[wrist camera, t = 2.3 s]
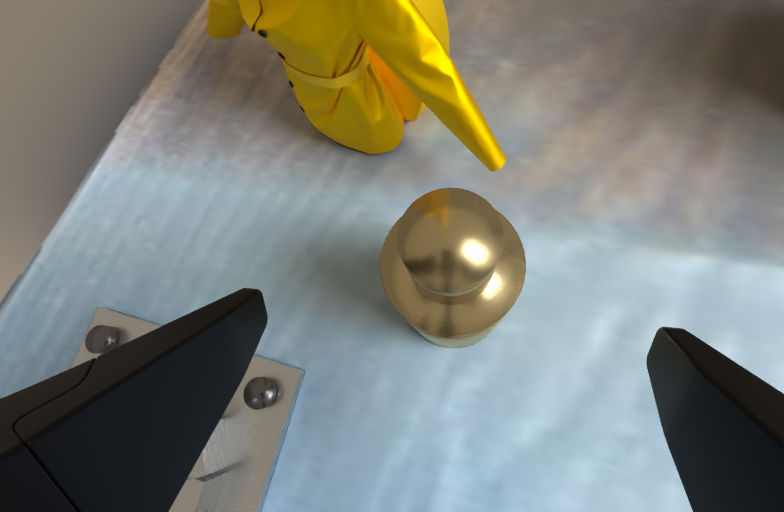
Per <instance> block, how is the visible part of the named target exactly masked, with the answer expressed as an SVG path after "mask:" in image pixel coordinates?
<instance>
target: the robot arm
mask: <svg viewBox="0 0 784 512" xmlns="http://www.w3.org/2000/svg"><path fill="white" fill-rule="evenodd" d="M267 319H268V316H267V311H266V307H265V303H264V299H263V295H262V292H261V291H260V290H258V289H251V288H243V289H241V290H238V291H236V292H234V293H232V294H230V295H228V296H226V297H223V298H221V299H219V300H217V301H215V302H213V303H211V304H208V305H206V306H204V307H202V308H200V309H198V310H196V311H193V312H191V313H189V314H187V315H185V316H183V317H181V318H178V319H176V320H174V321H172V322H170V323H168V324H166V325H163V326H161V327H159V328H157V329H155V330H153V331H151V332H148V333H146V334H144V335H142V336H140V337H138V338H136V339H133V340H131V341H129V342H127V343H125V344H123V345H121V346H118V347H116V348H114V349H112V350H110V351H108V352H106V353H103V354H101V355H99V356H98V357H97V359H96V358H92V359H90V360H88V361H86V362H84V363H82V364H80V365H78V366H75V367H73V368H71V369H69V370H67V371H64V372H62V373H60V374H58V375H55V376H53V377H51V378H49V379H47V380H44V381H42V382H39V383H37V384H35V385H32V386H30V387H28V388H25V389H23V390H21V391H18V392H16V393H13V394H11V395H9V396H6V397H4V398H1V399H0V512H169V510H170V508H171V507H172V505H173V503H174V501H175V500H176V498H177V496H178V494H179V492H180V491H181V489H182V487H183V485H184V483H185V482H186V480H187V478H188V476H189V475H190V473H191V471H192V469H193V467H194V466H195V464H196V462H197V460H198V458H199V457H200V455H201V453H202V451H203V450H204V448H205V446H206V444H207V442H208V441H209V439H210V437H211V435H212V433H213V432H214V430H215V428H216V426H217V425H218V423H219V421H220V419H221V417H222V416H223V414H224V412H225V410H226V408H227V407H228V405H229V403H230V401H231V400H232V398H233V396H234V394H235V392H236V391H237V389H238V387H239V385H240V383H241V381H242V379H243V378H244V376H245V373H246V371H247V369H248V367H249V365H250V362H251V360H252V358H253V355H254V353H255V351H256V348H257V346H258V344H259V341H260V339H261V336H262V334H263V332H264V329H265V327H266V324H267ZM647 369H648V373H649V377H650V381H651V385H652V389H653V393H654V397H655V401H656V405H657V409H658V413H659V417H660V421H661V425H662V428H663V432H664V435H665V438H666V441H667V444H668V447H669V449H670V452H671V455H672V457H673V460H674V463H675V465H676V468H677V471H678V473H679V476H680V479H681V481H682V484H683V486H684V489H685V492H686V494H687V497H688V500H689V502H690V505H691V508H692V510H693V512H784V394H783V393H782V392H780V391H778V390H777V389H775V388H774V387H772V386H771V385H769V384H768V383H766V382H765V381H763V380H762V379H760V378H759V377H757V376H755V375H754V374H752V373H751V372H749V371H748V370H746V369H745V368H743V367H742V366H740V365H739V364H737V363H735V362H734V361H732V360H731V359H729V358H728V357H726V356H725V355H723V354H722V353H720V352H719V351H717V350H715V349H714V348H712V347H711V346H709V345H708V344H706V343H705V342H703V341H702V340H700V339H699V338H697V337H695V336H694V335H692V334H691V333H689V332H688V331H686V330H684V329H681V328H672V327H661V328H659V329H658V331H657V332H656V335H655V337H654V340H653V342H652V345H651V348H650V350H649V353H648V355H647Z"/></svg>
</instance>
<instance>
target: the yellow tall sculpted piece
mask: <svg viewBox="0 0 784 512" xmlns="http://www.w3.org/2000/svg"><path fill="white" fill-rule="evenodd" d="M245 22H246V24H247V25H248V27H249V29H250V30H251V31H253V32H255V33H256V34H257V35H259V36H260V37H262V38H264V39H265V40H266V41H267V42H268V43H270V44H271V45H272V46H273V47H274V48H275V49H276V51H277V53H278V54H279V56H280V58H281V59H282V61H283V64H284V68H285V71H286V73H287V76H288V79H289V83H290V85H291V87H292V88H293V91H294V93H295V96H296V98H297V100H298V102H299V104H300V106H301V109H302V110H303V112H305V113H306V115H307V117H308V118H309V120H310V121H311V123H312V124H313V125H314V127H315V128H316V129H317V130H318V131H320V132H321V133H323V134H325V135H327V136H328V137H330V138H331V139H333V140H334V141H336V142H338V143H340V144H343V145H345V146H347V147H350V148H353V149H357V150H360V151H363V152H366V153H369V154H380V153H385V152H389V151H392V150H393V149H395V148H396V147H397V146H398V145H399V143H400V142H401V140H402V137H403V134H404V119H405V120H407V121H410V122H413V121H415V120H416V119H417V118H418V117H419V116H420V114H421V113H422V111H423V110H424V109H425V107H426V106H427V107H428V108H429V109H430V110H431V111H432V112H433V113H434V114H435V115H436V116H437V117H438V118H439V119H440V121H441V122H442V123H443V124H444V125H445V126H446V127H447V128H448V129H449V130H450V131H451V132H452V133H453V134H454V135H455V136H456V137H457V138H458V139H459V140H460V141H461V142H462V143H463V144H464V145H465V146H466V147H467V148H468V149H469V150H470V151H471V152H472V153H473V154H474V155H475V156H476V157H477V158H478V159H479V160H480V161H481V162H482V163H483V164H484V165H485V166H486V167H487V168H488V169H489V170H490V171H496V170H498V169H500V168H501V167H502V166H503V165H504V163H505V162H506V156H505V155H504V153H503V151H502V149H501V148H500V146H499V144H498V142H497V140H496V139H495V137H494V135H493V133H492V131H491V129H490V127H489V126H488V124H487V122H486V120H485V118H484V116H483V114H482V112H481V111H480V109H479V107H478V105H477V104H476V102H475V100H474V99H473V97H472V96H471V94H470V92H469V91H468V89H467V87H466V85H465V84H464V82H463V80H462V78H461V76H460V75H459V73H458V71H457V69H456V67H455V66H454V64H453V62H452V60H451V58H450V57H449V47H450V46H449V31H448V23H447V17H446V12H445V7H444V3H443V0H209V6H208V17H207V32H208V34H209V35H210V36H212V37H213V38H219V39H223V38H233V37H236V36H238V35H239V34H240V31H241V29H242V27H243V25H244V23H245Z"/></svg>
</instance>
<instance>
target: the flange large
mask: <svg viewBox="0 0 784 512" xmlns="http://www.w3.org/2000/svg"><path fill="white" fill-rule="evenodd" d="M159 327H161V325H158V324H155V323H152V322H149V321H145V320H142V319H139V318H136V317H133V316H129V315H126V314H123V313H120V312H117V311H113V310H110V309H107V308H101V307H98V308H97V311H96V313H95V315H94V317H93V320H92V322H91V324H90V326H89V328H88V331H87V333H86V335H85V337H84V340H83V342H82V344H81V346H80V348H79V351H78V353H77V355H76V357H75V360H74V362H73V364H72V366H71V368H73V367H75V366H78V365H80V364H82V363H84V362H86V361H88V360H90V359H92V358H96V359H97V357H98V356H99V355H101V354H103V353H106V352H108V351H110V350H112V349H114V348H116V347H118V346H121V345H123V344H125V343H127V342H129V341H131V340H133V339H136V338H138V337H140V336H142V335H144V334H146V333H148V332H151V331H153V330H155V329H157V328H159ZM304 374H305V370H302V369H299V368H295V367H292V366H289V365H286V364H283V363H280V362H276V361H273V360H270V359H267V358H264V357H260V356H257V355H253V358H252V360H251V362H250V365H249V367H248V369H247V371H246V373H245V376H244V378H243V379H242V381H241V383H240V385H239V387H238V389H237V391H236V392H235V394H234V396H233V398H232V400H231V401H230V403H229V405H228V407H227V408H226V410H225V412H224V414H223V416H222V417H221V419H220V421H219V423H218V425H217V426H216V428H215V430H214V432H213V433H212V435H211V437H210V439H209V441H208V442H207V444H206V446H205V448H204V450H203V451H202V453H201V455H200V457H199V458H198V460H197V462H196V464H195V466H194V467H193V469H192V471H191V473H190V475H189V476H188V478H187V480H186V482H185V483H184V485H183V487H182V489H181V491H180V492H179V494H178V496H177V498H176V500H175V501H174V503H173V505H172V507H171V508H170V510H169V512H261V510H262V507H263V504H264V501H265V497H266V494H267V491H268V488H269V485H270V482H271V478H272V475H273V472H274V469H275V466H276V463H277V459H278V456H279V453H280V450H281V447H282V444H283V440H284V437H285V434H286V431H287V428H288V424H289V421H290V418H291V415H292V412H293V409H294V405H295V402H296V399H297V396H298V393H299V390H300V386H301V383H302V380H303V377H304Z"/></svg>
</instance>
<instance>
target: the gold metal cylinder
mask: <svg viewBox="0 0 784 512" xmlns="http://www.w3.org/2000/svg"><path fill="white" fill-rule="evenodd" d="M380 272H381V279H382V283H383V286H384V290H385V292H386V294H387V296H388V298H389V300H390V302H391V303H392V305H393V306H394V308H395V309H396V310H397V311H398V312H399V313H400V314H401V315H402V316H403V317H404V318H405V319H406V320H407V321H408V322H409V323H410V324H411V325H412V326H413V327H414V328H415V329H416V330H417V331H418V332H419V333H420V334H421V335H422V336H423V337H424V338H426V339H427V340H429V341H430V342H432V343H434V344H436V345H439V346H442V347H447V348H463V347H467V346H470V345H473V344H475V343H477V342H479V341H480V340H482V339H483V338H485V337H486V336H487V335H488V334H489V333H490V332H491V330H492V329H493V328H494V327H495V326H496V325H497V324H498V323H499V321H500V320H501V319H502V318H503V317H504V316H505V315H506V313H507V312H508V311H509V310H510V309H511V307H512V306H513V305H514V303H515V302H516V300H517V298H518V296H519V294H520V292H521V290H522V287H523V283H524V279H525V272H526V260H525V253H524V249H523V246H522V242H521V240H520V238H519V236H518V234H517V232H516V231H515V229H514V227H513V226H512V225H511V223H510V222H509V221H508V220H507V219H506V218H505V217H504V216H503V215H502V214H501V213H500V212H498V211H497V210H495V209H494V208H493V207H492V205H491V204H490V203H489V202H487V201H486V200H485V199H484V198H482V197H481V196H479V195H477V194H475V193H473V192H471V191H468V190H464V189H459V188H444V189H438V190H434V191H432V192H429V193H427V194H425V195H423V196H421V197H420V198H418V199H417V200H416V201H415V202H413V203H412V204H411V205H410V207H409V208H408V209H407V210H406V212H405V213H404V215H403V216H402V217H401V218H400V219H399V220H398V221H397V222H396V223H395V225H394V226H393V227H392V229H391V230H390V232H389V234H388V236H387V238H386V240H385V243H384V245H383V249H382V253H381V261H380Z"/></svg>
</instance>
